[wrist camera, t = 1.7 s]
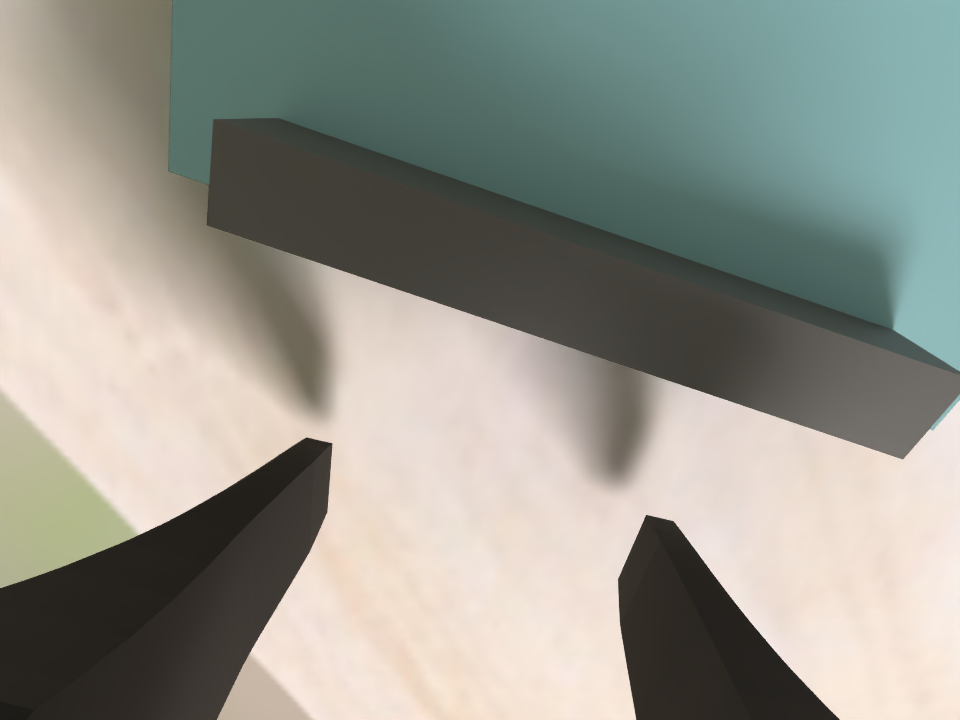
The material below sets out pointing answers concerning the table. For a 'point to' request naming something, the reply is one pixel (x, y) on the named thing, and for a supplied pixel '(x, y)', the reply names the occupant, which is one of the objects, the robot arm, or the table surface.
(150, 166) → the table surface
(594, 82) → the teal hinge plate
